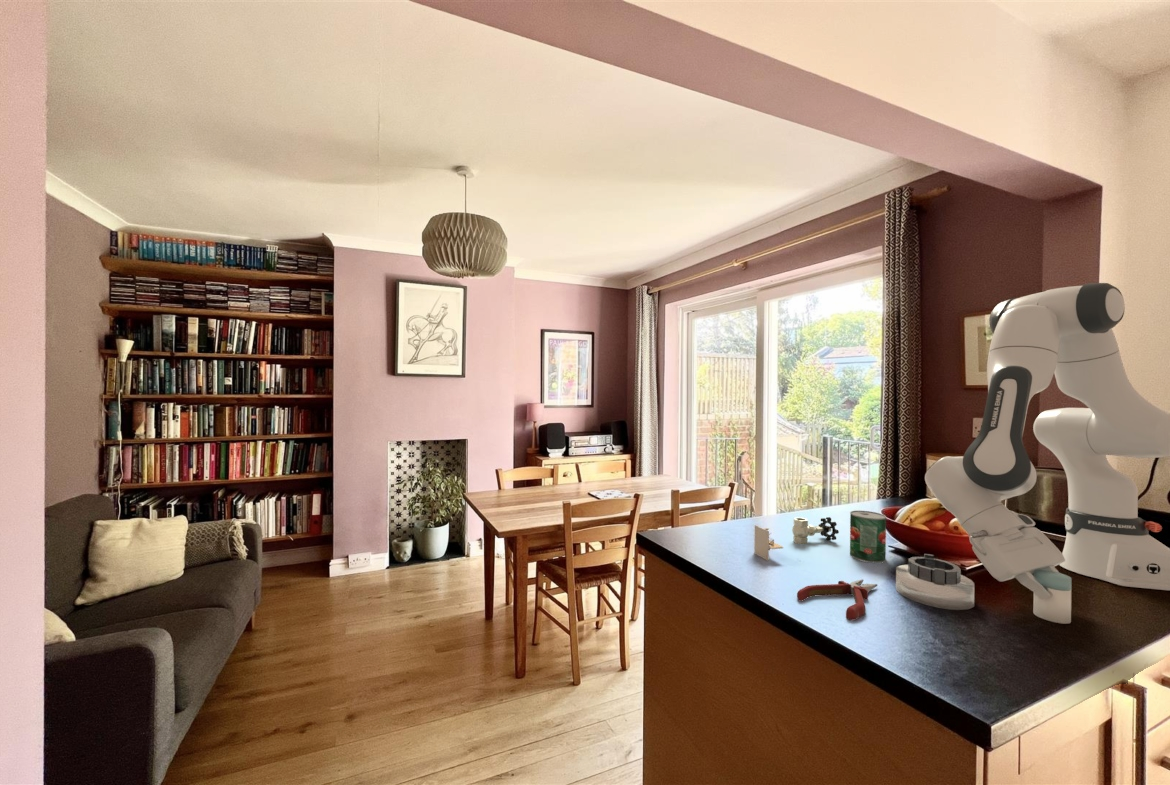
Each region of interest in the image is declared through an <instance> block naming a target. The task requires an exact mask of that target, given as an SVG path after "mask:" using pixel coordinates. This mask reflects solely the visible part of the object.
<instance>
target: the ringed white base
mask: <svg viewBox="0 0 1170 785" xmlns="http://www.w3.org/2000/svg"><path fill="white" fill-rule="evenodd" d="M961 570H962V568H960V566H958V565H957V564H955V563H952V562H950V561H946V560H943V559H938V558H935V555H934V554H930V553H924V554H923V556H912V557H910V558H907V564H902V565H898V566H896V567H895V590H896V592H898V594H900V595H902V596H903V597H905V598H907V599H909V600H912V601H913V602H917V603H919V604H923V605H926V606H929V607H933V608H938V609H945V610H951V611H965V610H970V609H972V608H974V607H975V582H974V581H973V580H972V579H971V578H968V577H967V576H965V575H963V574H962V571H961Z"/></svg>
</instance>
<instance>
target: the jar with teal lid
mask: <svg viewBox="0 0 1170 785" xmlns="http://www.w3.org/2000/svg"><path fill="white" fill-rule="evenodd" d="M1058 572H1059V571H1058ZM1058 572H1054V571H1048V570H1034V573H1033V576H1034V579H1035V580H1036V581H1037V582H1039V583H1040V584H1041V585H1042V586H1046V587H1047V588H1048V589H1049V591H1051V592H1052V594H1053V596H1051V597H1049V598H1046V599H1044V600H1042V599H1040V598H1039V597H1038V596H1037V595H1036V594H1035V593H1034V592H1033V604H1032V606H1033V610H1032V612H1033V615H1035V616H1036V617H1038V618H1040V619H1042V620H1046V621H1048V622H1051V623H1056V624H1057V623H1058V624H1065V625H1066V624H1071V622H1072V577H1071V576H1069V575H1067V574H1064V573H1062V572H1059V573H1058Z"/></svg>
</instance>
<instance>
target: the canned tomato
mask: <svg viewBox="0 0 1170 785" xmlns="http://www.w3.org/2000/svg"><path fill="white" fill-rule="evenodd" d="M849 514H850V518H849V520H850V521H849V523H850V525H849V527H850V528H849V529H850V530H849V532H850V533H849V556H850V557H852V558H853V559H855V560H857V561H861V562H866V563H873V564H882V562H883V563H885V562H886V561H887V560H886V554H887V552H886V551H887V549H886V548H887V542H886V541H887V540H886V538H887V527H886V526H887V516H886V515H885V514H882V513H880V512H875V511H869V510H851V511H850V512H849Z"/></svg>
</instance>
